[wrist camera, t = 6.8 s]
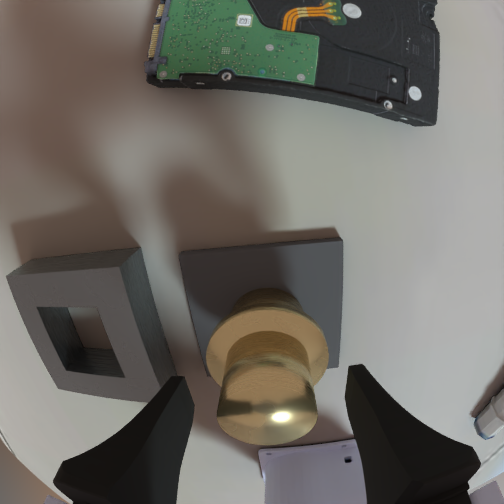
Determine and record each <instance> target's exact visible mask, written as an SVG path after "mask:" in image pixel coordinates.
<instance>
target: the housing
mask: <svg viewBox="0 0 504 504" xmlns="http://www.w3.org/2000/svg"><path fill="white" fill-rule="evenodd" d="M6 278H7V281H8V284H9V286H10V289H11V292H12V294H13V297H14V300H15V302H16V305H17V307H18V310H19V312H20V315H21V317H22V319H23V322H24V324H25V326H26V328H27V330H28V333H29V335H30V337H31V339H32V341H33V343H34V345H35V347H36V349H37V351H38V353H39V355H40V357H41V359H42V361H43V363H44V365H45V366H46V368H47V370H48V372H49V374H50V375H51V377H52V379H53V381H54V382H55V384H56V386H57V387H58V389H62V390H67V391H72V392H77V393H82V394H88V395H93V396H99V397H106V398H113V399H120V400H128V401H137V402H147V403H149V402H150V401H151V399H152V398H153V397H154V396H155V395H156V394H157V392H158V391H159V390H160V389H161V388H162V387H163V385H164V384H165V383H166V382H167V381H168V379H169V378H170V377H171V376H177V373H176V370H175V367H174V364H173V361H172V358H171V355H170V352H169V349H168V346H167V343H166V340H165V336H164V333H163V330H162V327H161V323H160V320H159V316H158V313H157V309H156V306H155V302H154V299H153V295H152V291H151V287H150V284H149V280H148V276H147V272H146V268H145V264H144V259H143V255H142V251H141V247H139V248H130V249H121V250H111V251H102V252H94V253H85V254H76V255H68V256H59V257H51V258H42V259H34V260H30V261H28V262H27V263H25V264H23V265H22V266H20V267H19V268H17V269H16V270H14V271H13V272H11V273H10V274H8V275H7V276H6ZM67 307H97V309H98V312H99V315H100V317H101V320H102V323H103V325H104V328H105V331H106V333H107V336H108V338H109V341H110V343H111V345H112V348H113V350H108V349H93V348H83V346H82V343H81V341H80V339H79V337H78V334H77V332H76V330H75V327H74V325H73V322H72V320H71V317H70V315H69V312H68V310H67Z"/></svg>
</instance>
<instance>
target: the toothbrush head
mask: <svg viewBox="0 0 504 504" xmlns="http://www.w3.org/2000/svg"><path fill="white" fill-rule="evenodd" d="M474 426H475V429H476V432H477V434H478V435H479V436H481V437H482V438H483V439H485V440H486V439H490V438H492V437H494V436H495V435H496V434H497V433H498V432H499V431H500V430H502V429H503V428H504V388H503V389H502V390H501V392H500V393H499V394H498V395H496V396H493V397H492V398H491V402H490V403H489V404H488V405H487V406H486V407H485V409H484V410H483V411H482V412H481V413H480V414H479V415H478V416H477V417H476V419H475V422H474Z"/></svg>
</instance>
